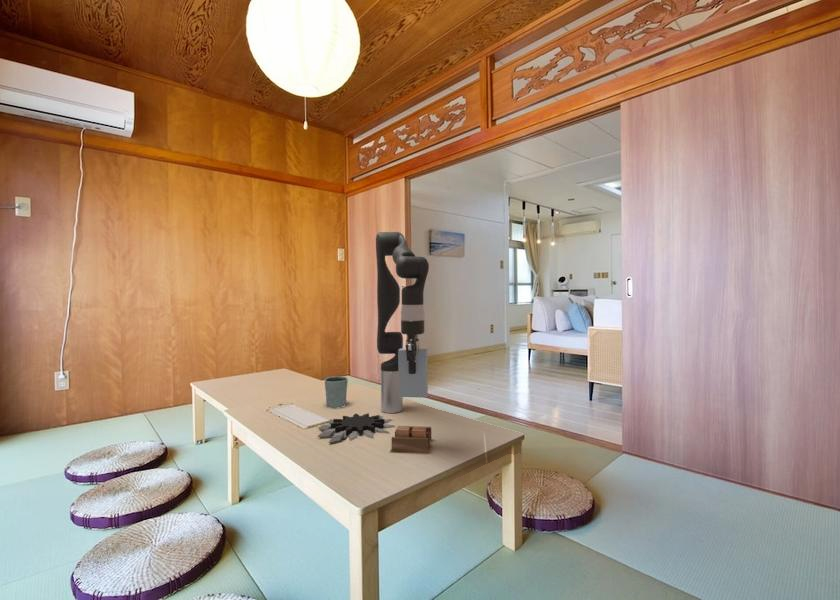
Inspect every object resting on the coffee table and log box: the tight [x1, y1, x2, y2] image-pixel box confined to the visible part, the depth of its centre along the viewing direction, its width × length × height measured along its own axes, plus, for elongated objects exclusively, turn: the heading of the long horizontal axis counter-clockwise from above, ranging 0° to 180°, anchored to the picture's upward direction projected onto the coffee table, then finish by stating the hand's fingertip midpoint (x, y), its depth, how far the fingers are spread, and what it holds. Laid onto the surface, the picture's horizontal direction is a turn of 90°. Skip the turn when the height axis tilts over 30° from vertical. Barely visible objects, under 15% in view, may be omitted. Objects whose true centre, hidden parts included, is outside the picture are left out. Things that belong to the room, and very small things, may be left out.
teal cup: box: [324, 376, 349, 409], centre depth 171 cm, size 10×10×12 cm
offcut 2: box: [412, 426, 426, 438], centre depth 118 cm, size 3×4×6 cm
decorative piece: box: [317, 412, 396, 444], centre depth 138 cm, size 30×4×30 cm
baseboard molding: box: [265, 403, 330, 430], centre depth 155 cm, size 31×3×12 cm
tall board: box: [398, 348, 429, 399], centre depth 123 cm, size 3×9×15 cm, turn 83°
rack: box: [389, 425, 434, 455], centre depth 121 cm, size 12×12×6 cm
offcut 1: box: [395, 426, 410, 437], centre depth 119 cm, size 3×4×6 cm
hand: (413, 372), depth 123 cm, fingers closed on tall board, 3 cm apart
